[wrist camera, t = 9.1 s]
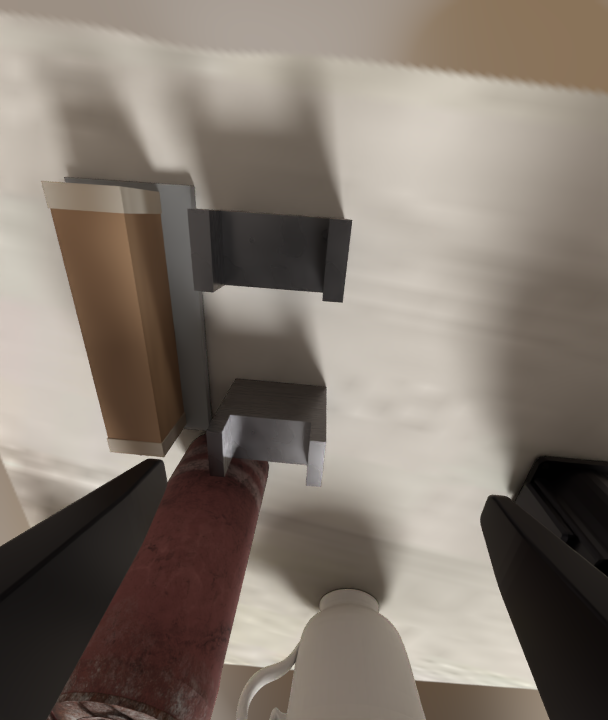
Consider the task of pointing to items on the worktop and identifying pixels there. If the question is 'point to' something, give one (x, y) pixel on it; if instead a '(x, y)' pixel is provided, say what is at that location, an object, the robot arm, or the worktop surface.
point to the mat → (180, 295)
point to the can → (173, 601)
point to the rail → (123, 309)
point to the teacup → (344, 667)
